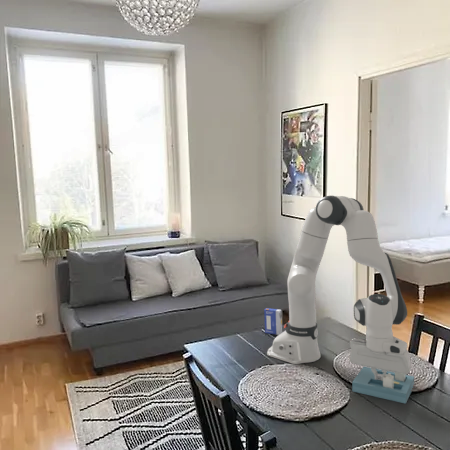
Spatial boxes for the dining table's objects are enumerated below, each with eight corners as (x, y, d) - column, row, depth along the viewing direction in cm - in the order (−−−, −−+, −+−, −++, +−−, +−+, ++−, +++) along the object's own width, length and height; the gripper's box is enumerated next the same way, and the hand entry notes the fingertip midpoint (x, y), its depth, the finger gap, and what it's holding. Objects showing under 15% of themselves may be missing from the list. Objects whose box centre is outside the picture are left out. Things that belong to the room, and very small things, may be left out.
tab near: (382, 389, 159) (382, 375, 158) (385, 386, 162) (385, 372, 161) (391, 391, 157) (392, 377, 157) (393, 387, 160) (394, 374, 159)
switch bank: (352, 391, 163) (352, 381, 163) (363, 375, 175) (363, 366, 174) (405, 403, 153) (405, 393, 153) (414, 385, 165) (414, 376, 165)
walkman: (264, 333, 222) (264, 309, 220) (267, 331, 224) (266, 307, 223) (280, 335, 218) (279, 310, 217) (282, 333, 221) (281, 308, 219)
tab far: (394, 382, 164) (394, 369, 163) (396, 379, 166) (396, 365, 165) (403, 384, 162) (403, 370, 161) (405, 381, 165) (405, 367, 164)
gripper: (346, 340, 162) (347, 377, 164) (408, 350, 151) (408, 390, 153) (352, 334, 167) (352, 370, 169) (412, 343, 156) (411, 382, 158)
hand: (379, 379), depth 161 cm, fingers closed
